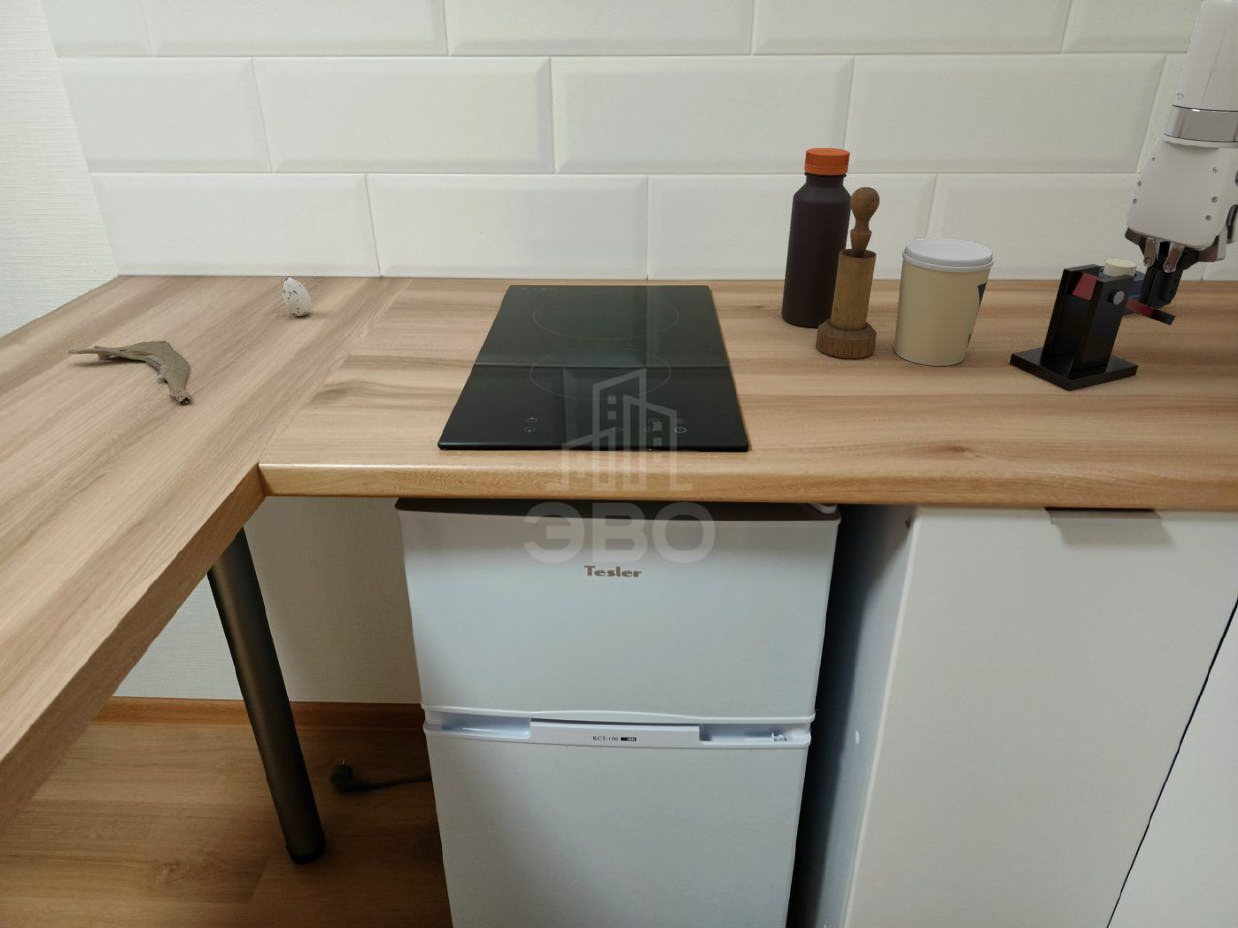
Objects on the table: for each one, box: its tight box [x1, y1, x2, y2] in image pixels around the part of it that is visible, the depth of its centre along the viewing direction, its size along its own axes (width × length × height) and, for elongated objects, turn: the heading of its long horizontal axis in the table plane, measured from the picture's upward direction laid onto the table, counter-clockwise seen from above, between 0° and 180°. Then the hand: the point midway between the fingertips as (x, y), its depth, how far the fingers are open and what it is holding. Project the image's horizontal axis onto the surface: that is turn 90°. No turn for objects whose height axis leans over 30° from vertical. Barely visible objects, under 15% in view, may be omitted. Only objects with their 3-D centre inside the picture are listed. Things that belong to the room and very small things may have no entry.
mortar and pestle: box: [815, 186, 881, 359], centre depth 94 cm, size 7×6×18 cm
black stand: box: [1009, 263, 1139, 392], centre depth 91 cm, size 10×8×11 cm
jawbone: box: [67, 340, 192, 405], centre depth 93 cm, size 9×20×2 cm, turn 59°
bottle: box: [781, 147, 852, 328], centre depth 103 cm, size 7×7×20 cm
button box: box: [1098, 265, 1165, 316], centre depth 112 cm, size 10×8×4 cm
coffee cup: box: [894, 237, 995, 367], centre depth 95 cm, size 9×9×12 cm
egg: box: [282, 276, 312, 317], centre depth 107 cm, size 3×3×5 cm
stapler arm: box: [1072, 273, 1177, 326], centre depth 92 cm, size 13×5×2 cm, turn 114°
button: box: [1103, 258, 1138, 277], centre depth 111 cm, size 4×4×2 cm
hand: (1154, 303), depth 94 cm, fingers closed
